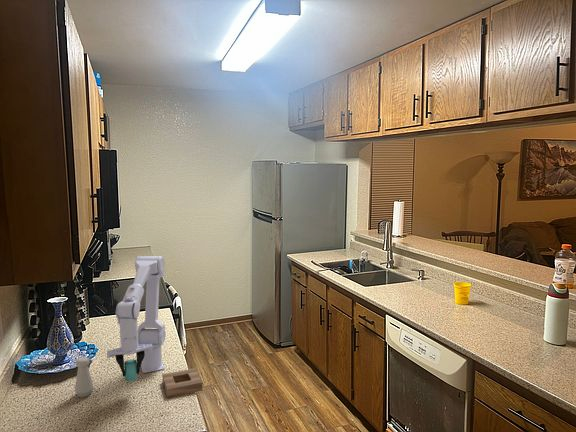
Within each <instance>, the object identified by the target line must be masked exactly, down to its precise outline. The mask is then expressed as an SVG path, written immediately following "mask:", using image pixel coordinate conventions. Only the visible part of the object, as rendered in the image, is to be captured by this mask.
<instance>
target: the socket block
mask: <svg viewBox="0 0 576 432" xmlns="http://www.w3.org/2000/svg"><path fill="white" fill-rule="evenodd" d="M162 384H163V388H164V390H165V394H166V398H167V399H168V398H171V397H178V396H183V395H188V394H192V393H193V394H194V393H196V392H197V393H198V392H203V381H202V379H201V377H200V375H199V373H198V371H197V369H196V368H190V369H183V370H178V371H172V372H167V373H163V374H162Z"/></svg>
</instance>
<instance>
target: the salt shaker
mask: <svg viewBox="0 0 576 432" xmlns="http://www.w3.org/2000/svg"><path fill="white" fill-rule="evenodd" d="M89 365H90V358H89V357H86V356H82V357H81V356H80V357H78V358H77V359H76V361H75V367H77V372H76V373H77V374H76V380H75V385H74V386H75V387H74V391H75V393H76V395H77V397H78V398H86V397H90V395H91V394H92V392H93V390H94V383H93V379H92V376H91V371H90V368H89Z"/></svg>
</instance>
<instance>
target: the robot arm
mask: <svg viewBox="0 0 576 432" xmlns="http://www.w3.org/2000/svg"><path fill="white" fill-rule="evenodd" d="M165 263H166V262H165V259H164V257H163V256H162V255H159V256H158V255H156V256H155V255H151V256H149V255H148V256H144V255H143V256H142V255H137V257H136V258H135V260H134V268H135V272H136V273H135V275H134V280H133V283H132V284H130V285H129V286H127V290H126V291H125V294H124V296H123V299H122V301H120V302H118V303H117V305H116V307H115V317H116V319H117V324H118V325H119V336H120V337H119V338H120V347H118V348H115V349H114V348H113V349H110V350H107V351H106V358H107V359H111V358H114V357H115V361H116V363H117V365H118V366H119V368H120V370H121V373H122V377H124V378H125V368H124V362H125V358H124V356H126V355H127V356H131V355H134V354H136V361H137V375H139V374H140V370H141V371H142V374H145V373H150V372H156V371H162V370H165V366H164V364H163V357H162V346H163V345H164V343H165V341H166V337H167V336H166V335H167V334H166V328H165V324H164V323H163V322H161V321H160V320H159V303H160V301H159V300H160V299H159V298H160V283H161V282H160V281H161V278H163V277H164V276H165V267H166V266H165ZM145 284H146V286H145ZM144 286H145V287H146V289H144ZM145 290H146V291H145ZM144 293H146V294H144ZM144 295H145V309H144V310H145V313H144V321H143V322H142V323H140V324H139V325H138V318H139V316H140V313H141V312H140V310H141V309H140V308H141V301H142V299H143V296H144Z"/></svg>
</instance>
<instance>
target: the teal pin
mask: <svg viewBox="0 0 576 432" xmlns="http://www.w3.org/2000/svg"><path fill="white" fill-rule="evenodd" d="M124 370H125V376H124V381H126V382H133V381H136V380H137V379H138V374H137V359H133V358H132V359H128V360H124Z"/></svg>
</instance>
